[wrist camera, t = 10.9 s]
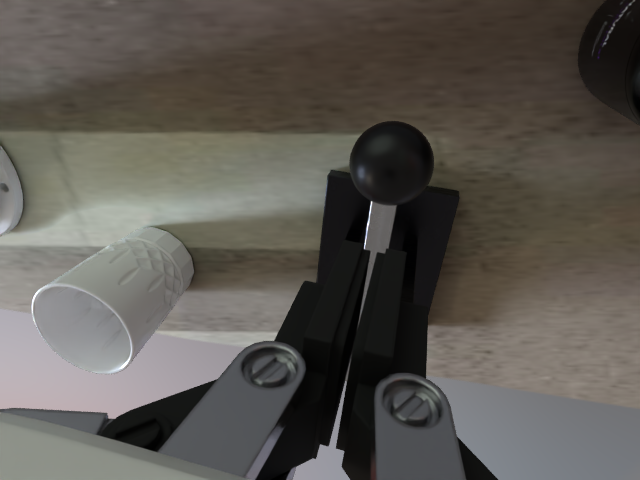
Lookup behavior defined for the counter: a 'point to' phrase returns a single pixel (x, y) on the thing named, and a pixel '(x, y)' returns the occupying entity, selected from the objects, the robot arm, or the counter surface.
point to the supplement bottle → (613, 56)
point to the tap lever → (388, 179)
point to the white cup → (113, 300)
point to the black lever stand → (407, 234)
